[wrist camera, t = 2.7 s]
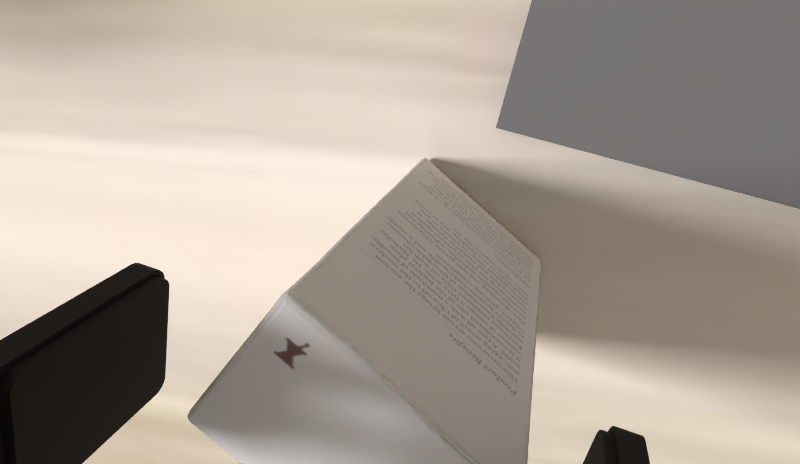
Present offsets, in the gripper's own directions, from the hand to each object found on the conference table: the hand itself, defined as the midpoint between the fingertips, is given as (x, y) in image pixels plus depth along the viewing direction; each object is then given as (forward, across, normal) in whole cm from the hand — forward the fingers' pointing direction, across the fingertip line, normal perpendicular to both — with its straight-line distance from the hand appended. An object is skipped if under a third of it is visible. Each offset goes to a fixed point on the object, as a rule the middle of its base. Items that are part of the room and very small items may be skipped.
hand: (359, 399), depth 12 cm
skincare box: (+11, 0, +1) cm, 11 cm away
